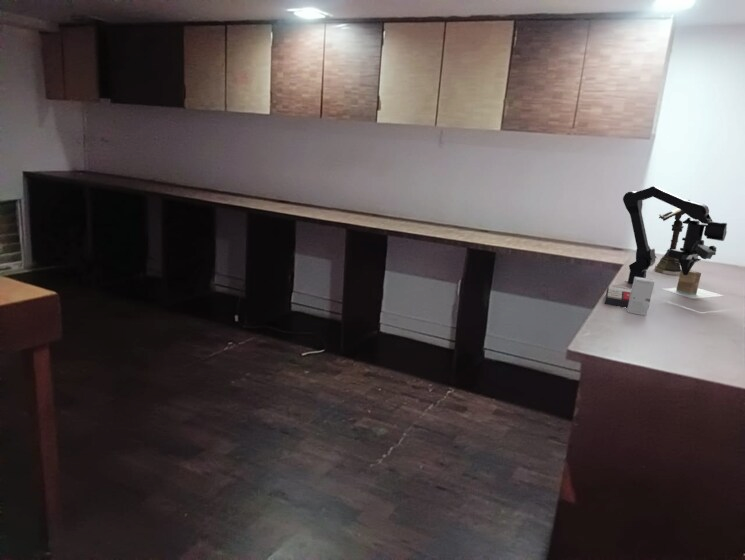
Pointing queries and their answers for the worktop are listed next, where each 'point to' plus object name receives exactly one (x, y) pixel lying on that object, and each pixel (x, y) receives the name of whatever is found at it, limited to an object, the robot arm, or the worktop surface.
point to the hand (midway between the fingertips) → (685, 275)
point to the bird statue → (669, 263)
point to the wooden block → (688, 282)
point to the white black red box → (617, 296)
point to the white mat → (699, 294)
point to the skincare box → (640, 295)
